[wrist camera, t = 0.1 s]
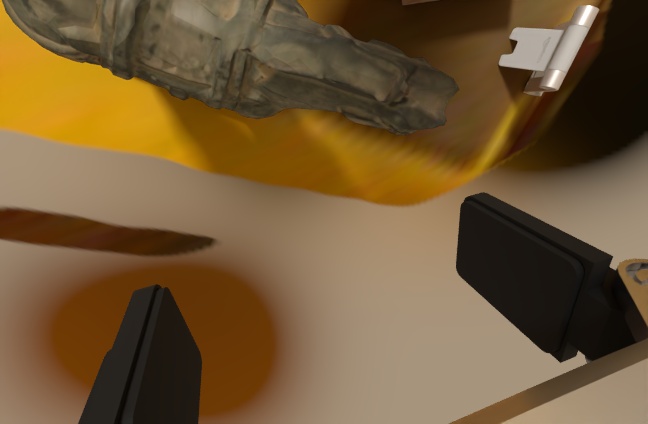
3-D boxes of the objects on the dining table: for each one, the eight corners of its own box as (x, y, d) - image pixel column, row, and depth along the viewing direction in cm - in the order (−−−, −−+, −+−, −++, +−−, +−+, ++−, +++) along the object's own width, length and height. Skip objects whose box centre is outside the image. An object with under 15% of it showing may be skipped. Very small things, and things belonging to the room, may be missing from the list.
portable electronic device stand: (528, 95, 47) (585, 101, 39) (490, 80, 44) (543, 83, 36) (559, 31, 44) (626, 26, 36) (520, 10, 41) (585, 0, 33)
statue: (351, 75, 38) (523, 95, 16) (312, 152, 41) (416, 255, 19) (121, -75, 27) (-271, -603, 5) (88, 44, 30) (-259, 3, 8)
